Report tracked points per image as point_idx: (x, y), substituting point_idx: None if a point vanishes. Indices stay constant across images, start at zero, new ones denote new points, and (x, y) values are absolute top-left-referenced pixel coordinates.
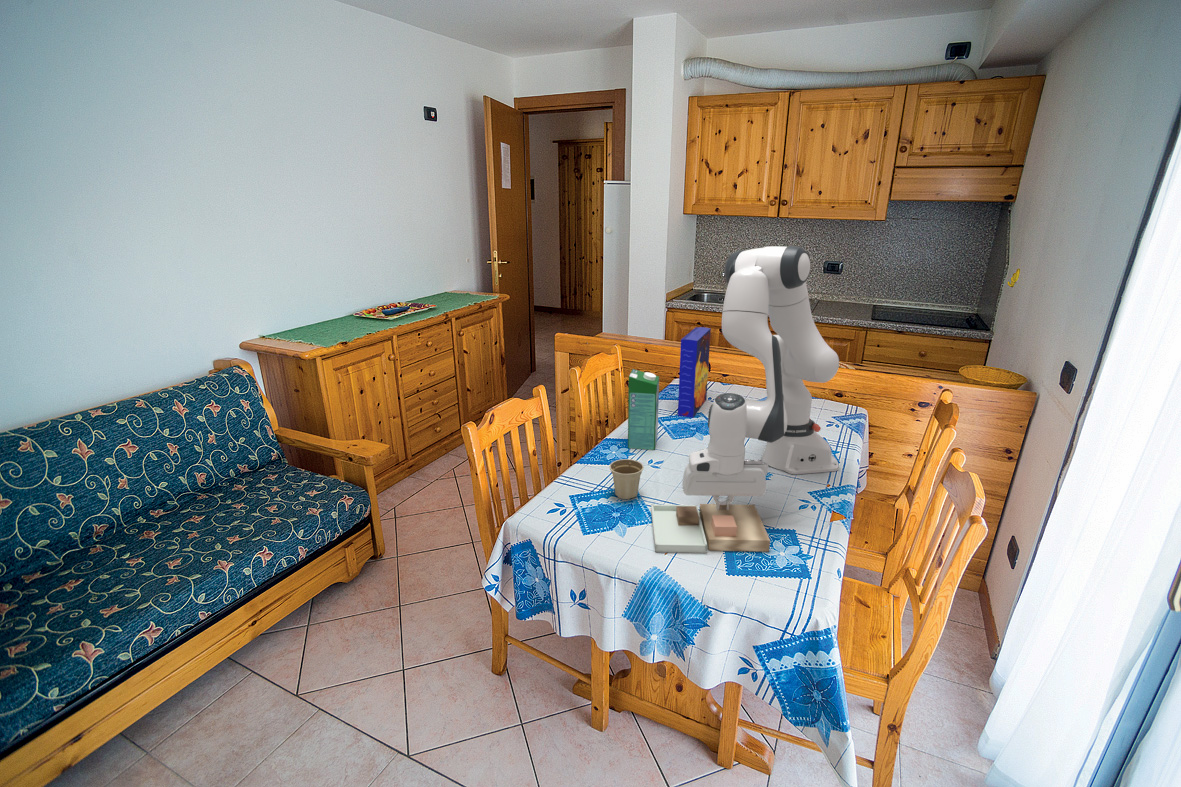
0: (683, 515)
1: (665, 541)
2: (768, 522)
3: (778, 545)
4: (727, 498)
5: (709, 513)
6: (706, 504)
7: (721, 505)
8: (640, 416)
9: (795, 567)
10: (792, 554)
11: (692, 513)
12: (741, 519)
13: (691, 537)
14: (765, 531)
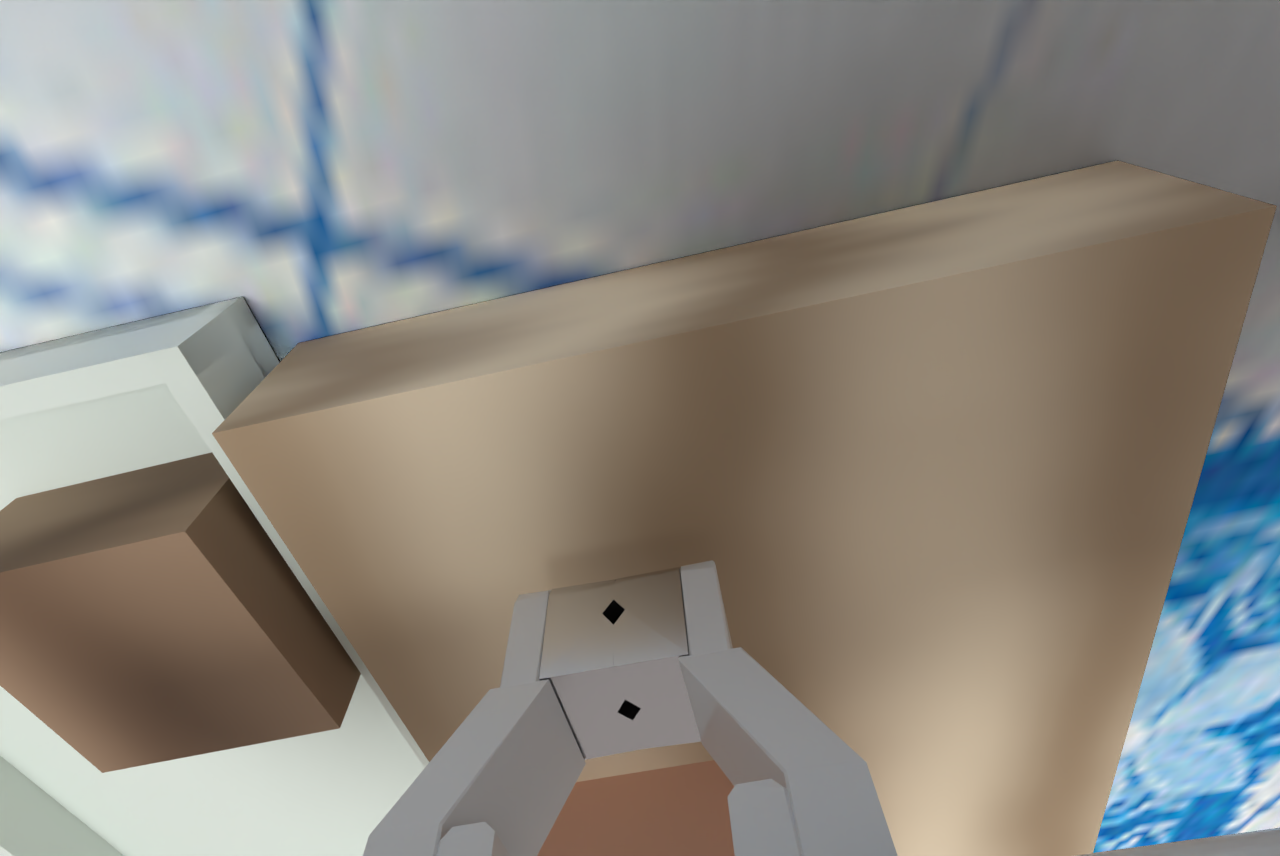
0: (140, 742)
1: (193, 847)
2: (1255, 318)
3: (1148, 666)
4: (730, 732)
5: (452, 632)
6: (332, 425)
7: (613, 736)
8: None
9: (1150, 823)
10: (1208, 731)
11: (227, 690)
12: (890, 656)
13: (377, 777)
14: (1108, 771)
